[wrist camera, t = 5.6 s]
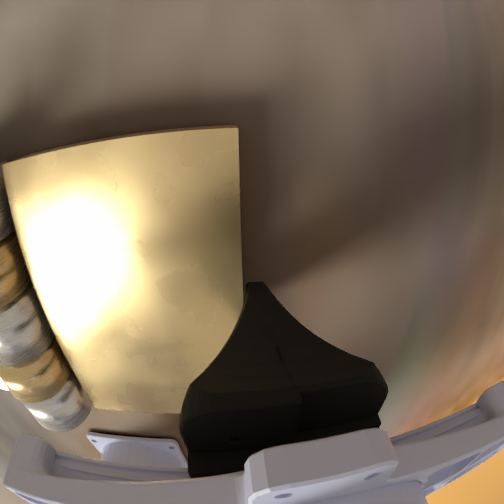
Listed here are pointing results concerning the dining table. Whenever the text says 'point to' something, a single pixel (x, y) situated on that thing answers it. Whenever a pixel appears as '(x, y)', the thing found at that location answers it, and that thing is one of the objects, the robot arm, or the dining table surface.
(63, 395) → the steel leaf
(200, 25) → the dining table surface
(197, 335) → the plate
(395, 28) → the dining table surface
